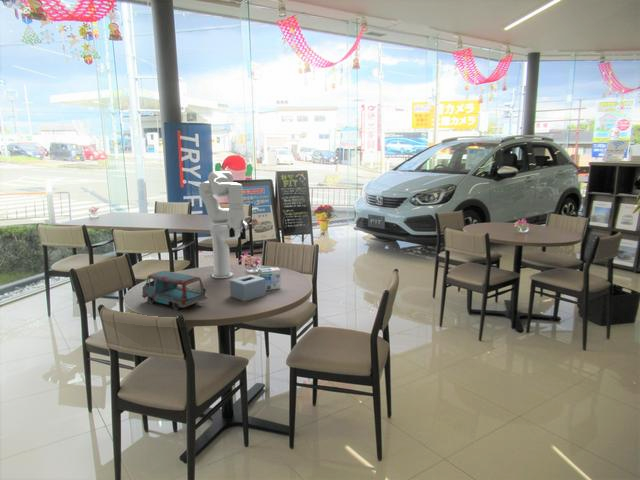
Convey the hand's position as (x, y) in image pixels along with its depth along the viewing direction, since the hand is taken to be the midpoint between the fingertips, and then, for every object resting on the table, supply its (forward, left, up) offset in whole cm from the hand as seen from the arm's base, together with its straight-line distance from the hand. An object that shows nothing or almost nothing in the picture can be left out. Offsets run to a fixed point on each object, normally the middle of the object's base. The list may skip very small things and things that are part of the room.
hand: (237, 238), depth 247 cm
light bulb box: (+12, +12, -29) cm, 33 cm away
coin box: (+14, -5, -28) cm, 32 cm away
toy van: (-4, -38, -29) cm, 47 cm away
